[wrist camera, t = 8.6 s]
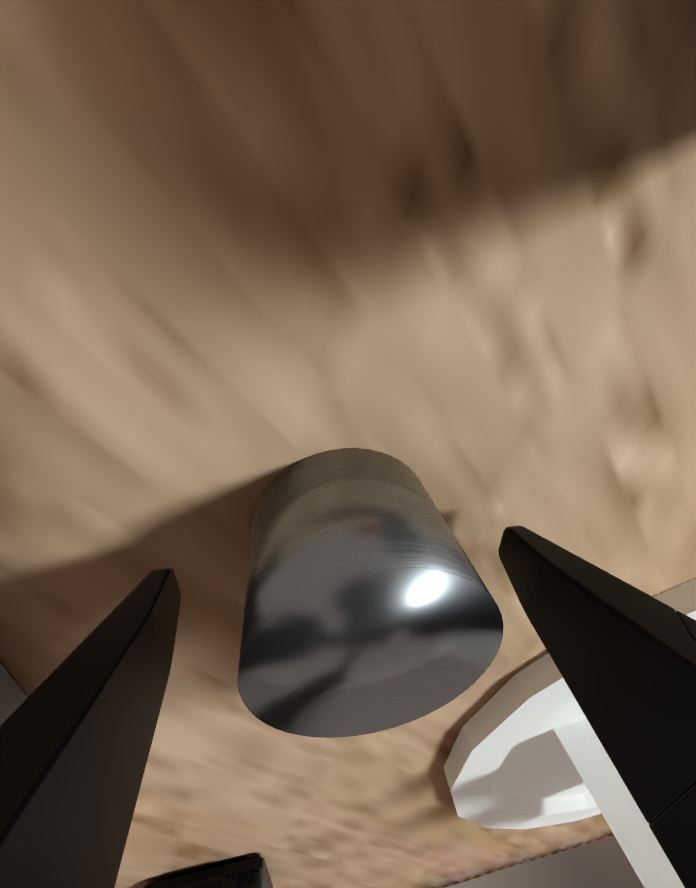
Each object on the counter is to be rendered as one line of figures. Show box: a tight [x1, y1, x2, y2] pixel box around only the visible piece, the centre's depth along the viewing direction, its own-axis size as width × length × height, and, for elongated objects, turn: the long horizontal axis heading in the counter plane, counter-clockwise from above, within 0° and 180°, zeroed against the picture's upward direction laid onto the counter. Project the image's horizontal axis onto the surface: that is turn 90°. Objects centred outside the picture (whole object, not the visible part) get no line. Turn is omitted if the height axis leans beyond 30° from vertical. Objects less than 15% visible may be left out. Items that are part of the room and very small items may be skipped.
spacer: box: [238, 448, 503, 738], centre depth 8 cm, size 5×5×4 cm
